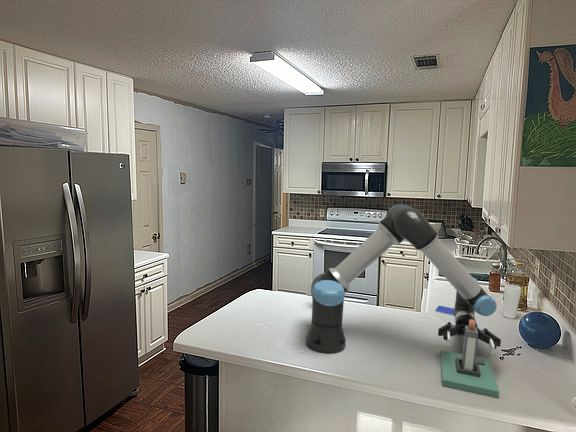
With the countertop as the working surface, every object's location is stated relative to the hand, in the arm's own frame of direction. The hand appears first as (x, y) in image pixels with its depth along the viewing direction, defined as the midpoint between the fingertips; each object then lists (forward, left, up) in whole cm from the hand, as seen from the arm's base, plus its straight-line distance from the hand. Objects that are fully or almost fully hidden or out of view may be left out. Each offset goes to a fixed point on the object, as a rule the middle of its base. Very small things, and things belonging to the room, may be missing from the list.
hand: (470, 346), depth 132 cm
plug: (-1, -1, -10) cm, 10 cm away
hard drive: (+27, +53, -10) cm, 60 cm away
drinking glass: (+53, +45, -10) cm, 71 cm away
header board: (-1, -1, -9) cm, 10 cm away
